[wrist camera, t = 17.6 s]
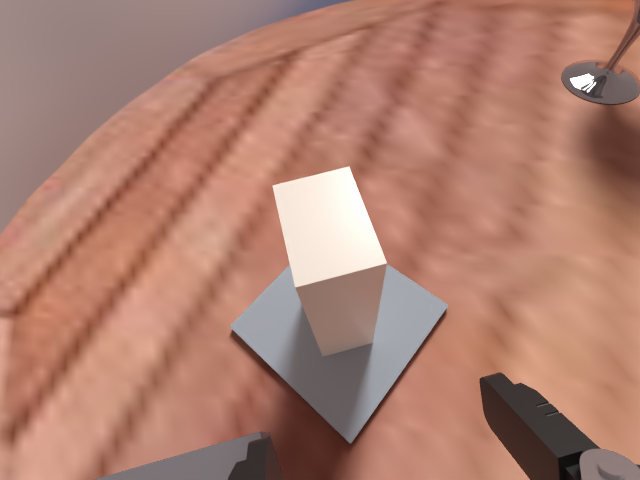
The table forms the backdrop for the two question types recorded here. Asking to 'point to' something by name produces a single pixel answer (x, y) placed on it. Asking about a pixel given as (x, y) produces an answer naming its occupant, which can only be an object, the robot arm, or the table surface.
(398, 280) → the mat
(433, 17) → the table surface
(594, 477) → the robot arm
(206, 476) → the gray slotted base
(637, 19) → the wine glass
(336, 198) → the tall cream pillar
